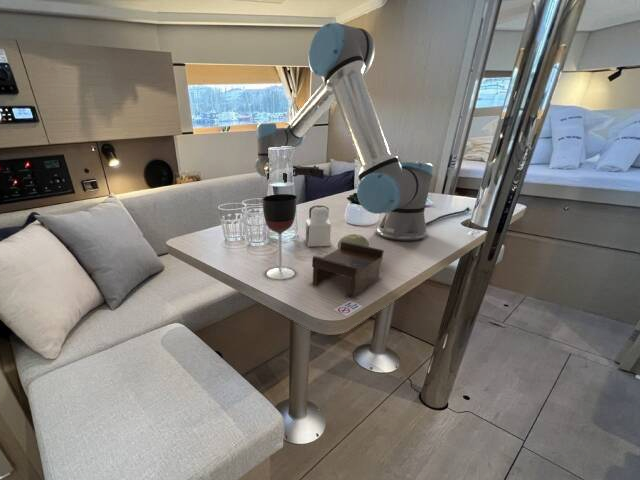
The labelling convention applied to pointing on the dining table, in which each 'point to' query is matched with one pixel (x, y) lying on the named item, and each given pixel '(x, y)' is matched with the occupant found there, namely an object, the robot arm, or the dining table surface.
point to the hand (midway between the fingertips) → (304, 176)
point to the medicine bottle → (318, 227)
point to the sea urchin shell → (354, 240)
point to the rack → (349, 266)
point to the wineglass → (279, 225)
